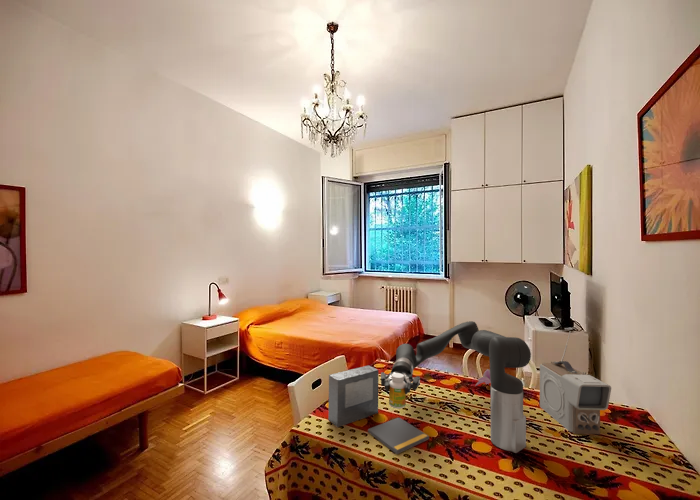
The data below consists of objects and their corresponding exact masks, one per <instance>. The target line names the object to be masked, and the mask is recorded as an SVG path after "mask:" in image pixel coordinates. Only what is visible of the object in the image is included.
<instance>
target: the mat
mask: <svg viewBox="0 0 700 500" xmlns="http://www.w3.org/2000/svg"><path fill="white" fill-rule="evenodd" d="M367 433H368V434H370V436H371V437H373V438H375V439H376V440H378V442H380V443H381V444H382V445H384V446H385V447H386V448H387V449H389V450H390V451H392V453H394V454H396V455H398V454H401V453H402V452H405V451H407V450H409V449H411V448H413V447H415V446H418V445H420V444H422V443H424V442H426V441H428V440H430V436H429V435H428V434H427V433H425V432H423V430H421V429H419V428H417V427H415V426H414V425H412V424H410V423H409V422H407V421H406V420H404V419H402V418H401V417H396V418H394V419H391V420H388V421H386V422H383V423H380V424H378V425H375V426H373V427H370V428H368V429H367Z"/></svg>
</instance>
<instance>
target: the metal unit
mask: <svg viewBox="0 0 700 500" xmlns="http://www.w3.org/2000/svg"><path fill="white" fill-rule="evenodd" d="M377 414H379V369H377V368H375V367H374V366H371V365H369V364H368V365H363V366H360V367H356V368H352V369H348V370H347V369H346V370H343V371H339V372H335V373H331V374H330V373H329V374H328V417H327V418H328V421H329V422H330V423H331V424H333V425H334V426H335V427H336V428H340V427H343V426H346V425H348V424H351V423H354V422H357V421H359V420H363V419H365V418H369V417H371V416H373V415H377Z"/></svg>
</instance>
